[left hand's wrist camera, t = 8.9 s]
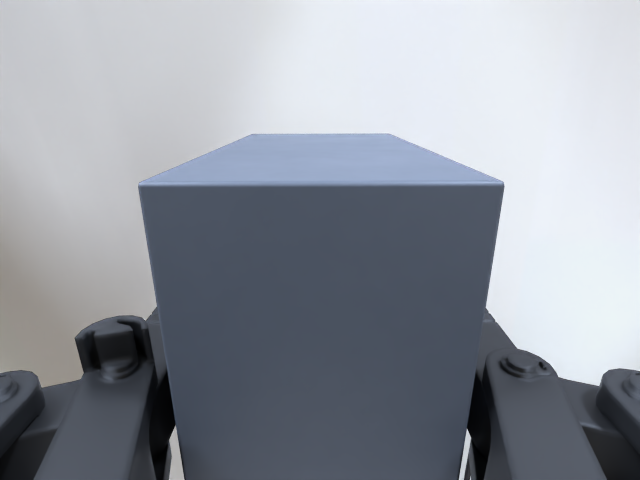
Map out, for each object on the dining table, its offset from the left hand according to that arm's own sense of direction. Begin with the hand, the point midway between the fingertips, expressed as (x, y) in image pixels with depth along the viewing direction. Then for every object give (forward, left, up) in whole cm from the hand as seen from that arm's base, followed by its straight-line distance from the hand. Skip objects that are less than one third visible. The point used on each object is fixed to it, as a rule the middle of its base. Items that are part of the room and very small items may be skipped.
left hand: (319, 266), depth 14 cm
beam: (+7, -21, 0) cm, 22 cm away
